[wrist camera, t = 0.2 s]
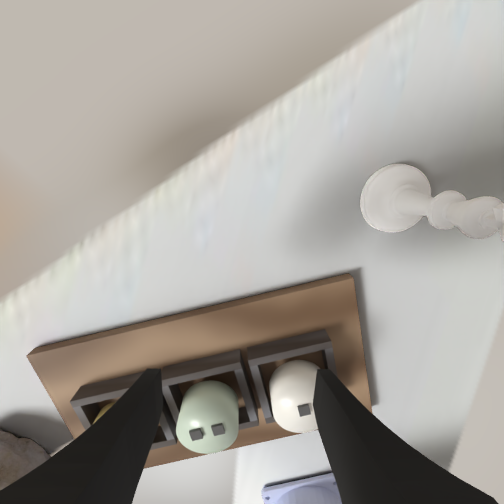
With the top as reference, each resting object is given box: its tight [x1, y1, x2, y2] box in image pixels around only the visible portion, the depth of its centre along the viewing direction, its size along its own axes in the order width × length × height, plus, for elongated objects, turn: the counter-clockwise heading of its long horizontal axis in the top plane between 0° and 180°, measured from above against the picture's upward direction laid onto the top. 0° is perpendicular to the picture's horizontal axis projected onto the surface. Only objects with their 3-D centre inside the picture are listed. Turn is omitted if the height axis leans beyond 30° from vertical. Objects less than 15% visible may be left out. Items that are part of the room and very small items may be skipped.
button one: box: [269, 360, 320, 433], centre depth 21 cm, size 4×4×3 cm
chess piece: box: [360, 164, 504, 242], centre depth 16 cm, size 5×5×10 cm
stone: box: [0, 429, 51, 490], centre depth 24 cm, size 8×10×6 cm
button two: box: [176, 380, 239, 454], centre depth 21 cm, size 4×4×3 cm
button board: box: [27, 273, 372, 469], centre depth 23 cm, size 14×26×3 cm, turn 103°
